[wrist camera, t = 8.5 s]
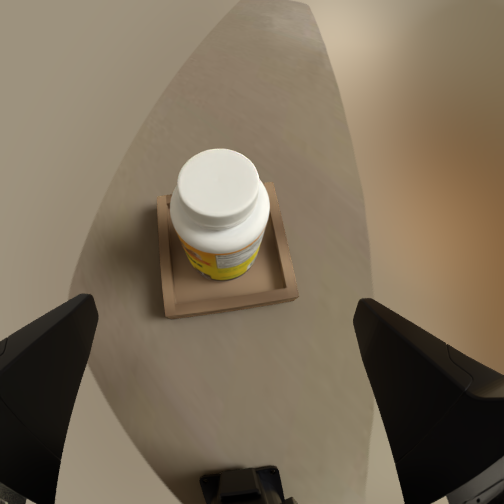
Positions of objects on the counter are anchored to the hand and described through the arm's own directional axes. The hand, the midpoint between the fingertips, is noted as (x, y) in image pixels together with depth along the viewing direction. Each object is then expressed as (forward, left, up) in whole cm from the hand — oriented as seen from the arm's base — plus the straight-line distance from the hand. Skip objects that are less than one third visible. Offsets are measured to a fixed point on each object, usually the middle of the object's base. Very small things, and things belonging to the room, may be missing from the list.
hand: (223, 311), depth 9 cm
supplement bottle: (+6, -1, -13) cm, 14 cm away
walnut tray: (+7, -1, -14) cm, 15 cm away
